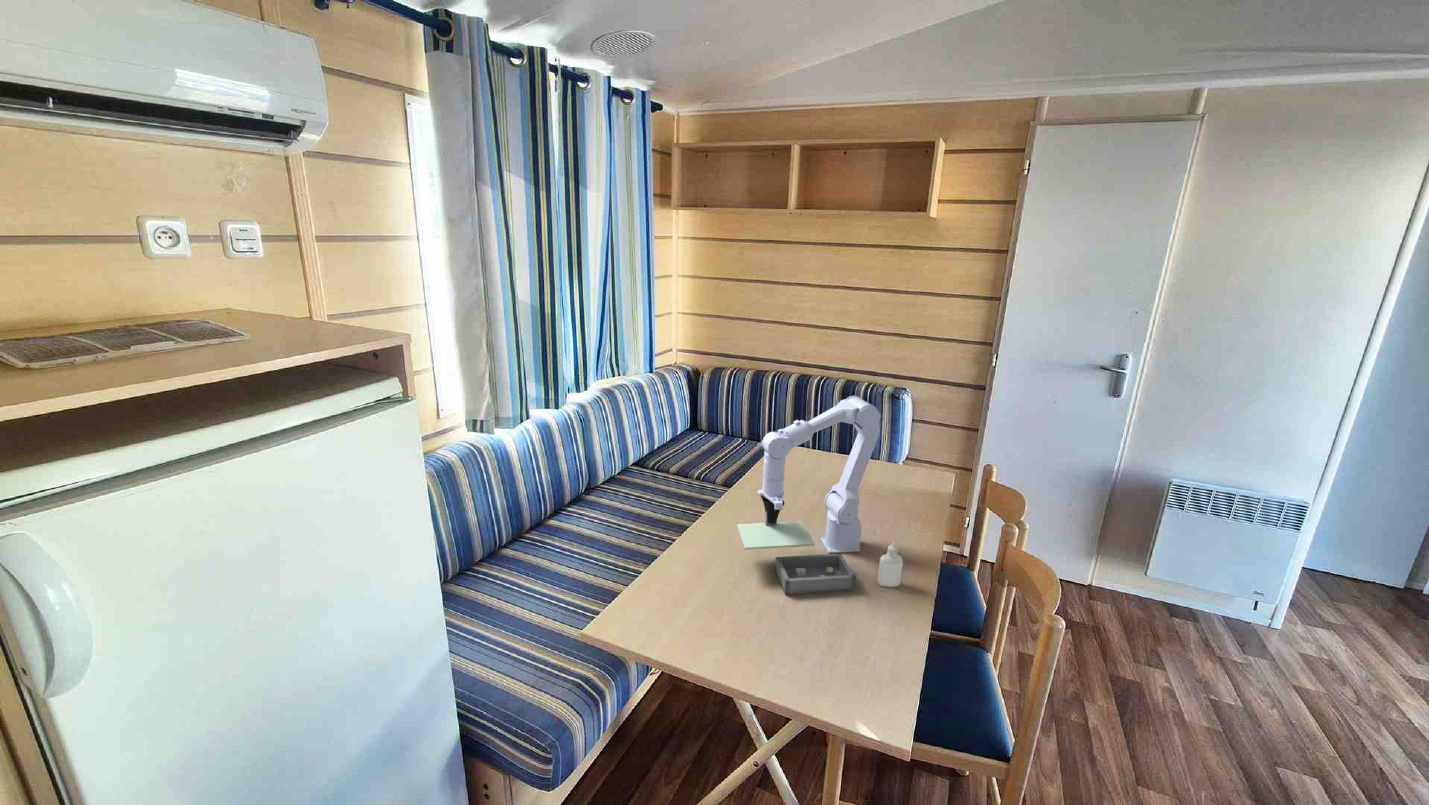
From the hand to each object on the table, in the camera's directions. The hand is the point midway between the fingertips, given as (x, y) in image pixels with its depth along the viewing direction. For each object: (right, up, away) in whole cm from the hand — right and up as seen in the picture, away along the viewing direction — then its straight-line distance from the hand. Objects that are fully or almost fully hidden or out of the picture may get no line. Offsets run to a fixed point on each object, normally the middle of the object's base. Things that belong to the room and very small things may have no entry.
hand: (771, 521), depth 159 cm
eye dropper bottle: (+30, -14, -10) cm, 34 cm away
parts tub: (+10, -14, -9) cm, 19 cm away
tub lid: (+1, -3, -4) cm, 5 cm away
